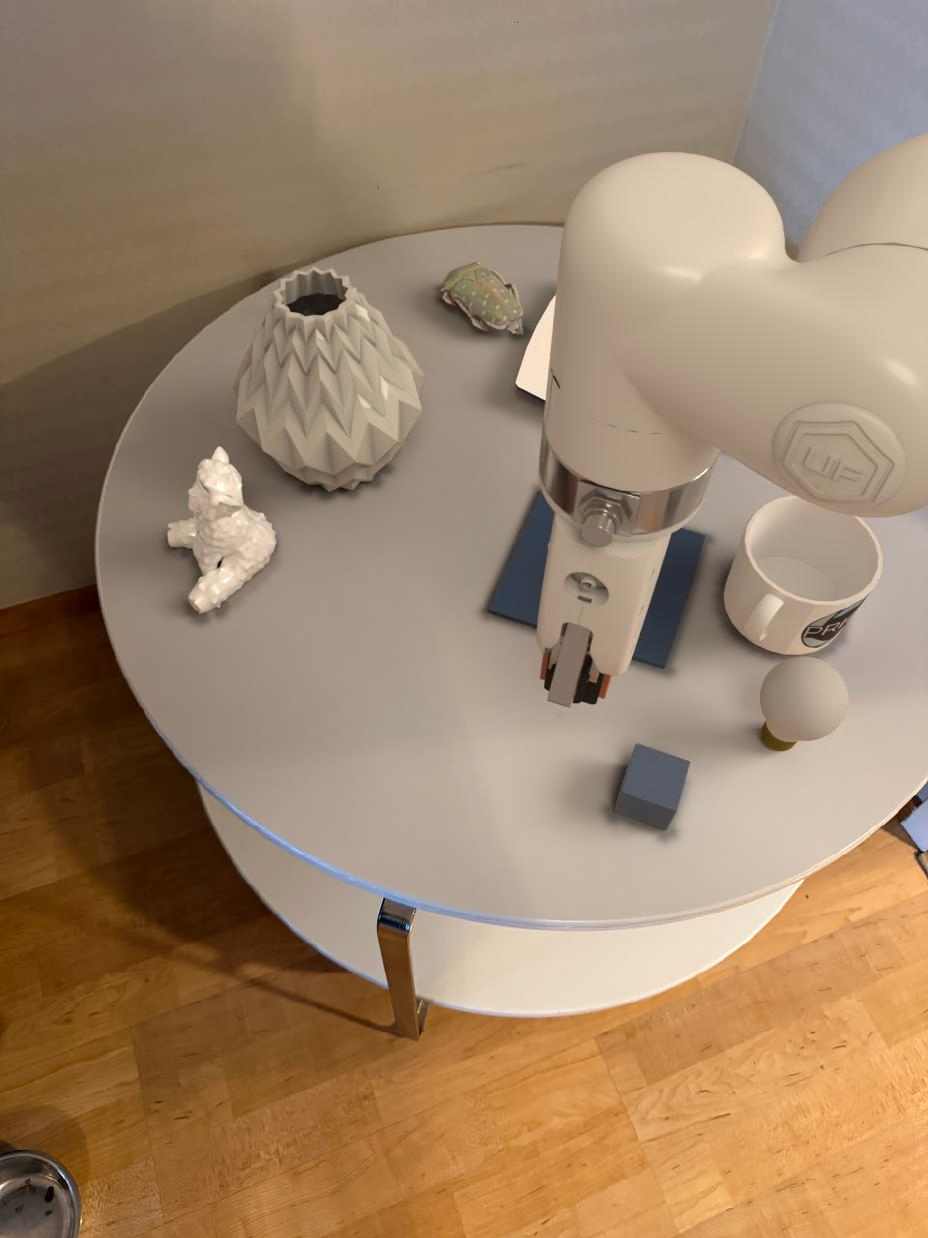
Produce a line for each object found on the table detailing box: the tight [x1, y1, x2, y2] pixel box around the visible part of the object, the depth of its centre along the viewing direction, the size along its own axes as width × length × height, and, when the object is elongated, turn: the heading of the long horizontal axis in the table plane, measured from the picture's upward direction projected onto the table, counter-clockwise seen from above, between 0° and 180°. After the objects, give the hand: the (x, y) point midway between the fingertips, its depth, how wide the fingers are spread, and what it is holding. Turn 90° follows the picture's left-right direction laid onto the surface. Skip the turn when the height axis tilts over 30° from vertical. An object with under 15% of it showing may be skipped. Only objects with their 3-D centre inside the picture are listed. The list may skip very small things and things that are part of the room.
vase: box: [232, 265, 426, 493], centre depth 79 cm, size 16×16×18 cm
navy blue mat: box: [488, 489, 706, 669], centre depth 80 cm, size 15×14×1 cm
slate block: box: [613, 743, 691, 831], centre depth 68 cm, size 4×4×4 cm
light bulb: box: [759, 656, 850, 752], centre depth 68 cm, size 6×6×10 cm
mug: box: [723, 495, 884, 656], centre depth 75 cm, size 13×10×8 cm
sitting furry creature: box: [167, 446, 277, 615], centre depth 76 cm, size 10×9×12 cm
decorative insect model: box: [439, 261, 525, 336], centre depth 97 cm, size 9×11×5 cm
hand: (582, 658), depth 57 cm, fingers closed on terracotta block, 4 cm apart
